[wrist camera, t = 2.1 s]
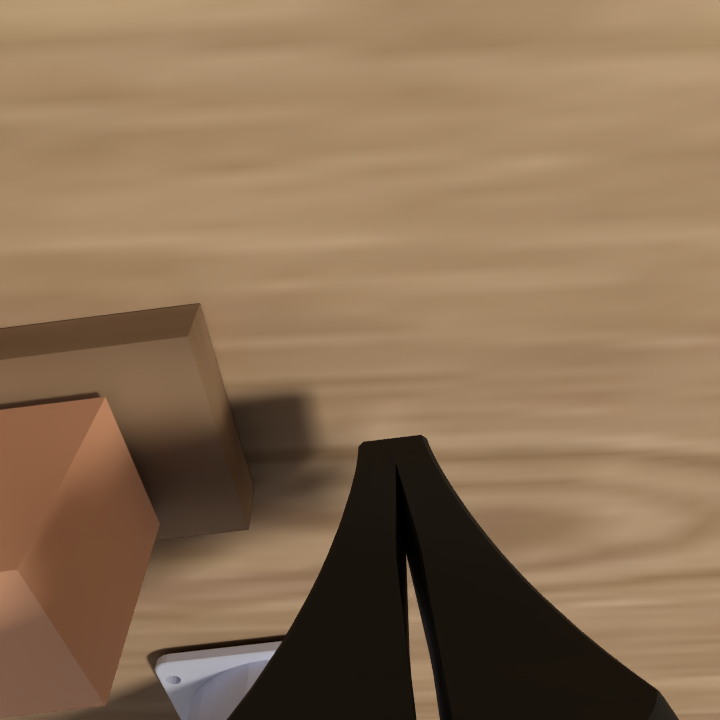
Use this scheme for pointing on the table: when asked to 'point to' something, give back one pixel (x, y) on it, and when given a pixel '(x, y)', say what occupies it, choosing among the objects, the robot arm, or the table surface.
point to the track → (145, 405)
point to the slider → (67, 554)
